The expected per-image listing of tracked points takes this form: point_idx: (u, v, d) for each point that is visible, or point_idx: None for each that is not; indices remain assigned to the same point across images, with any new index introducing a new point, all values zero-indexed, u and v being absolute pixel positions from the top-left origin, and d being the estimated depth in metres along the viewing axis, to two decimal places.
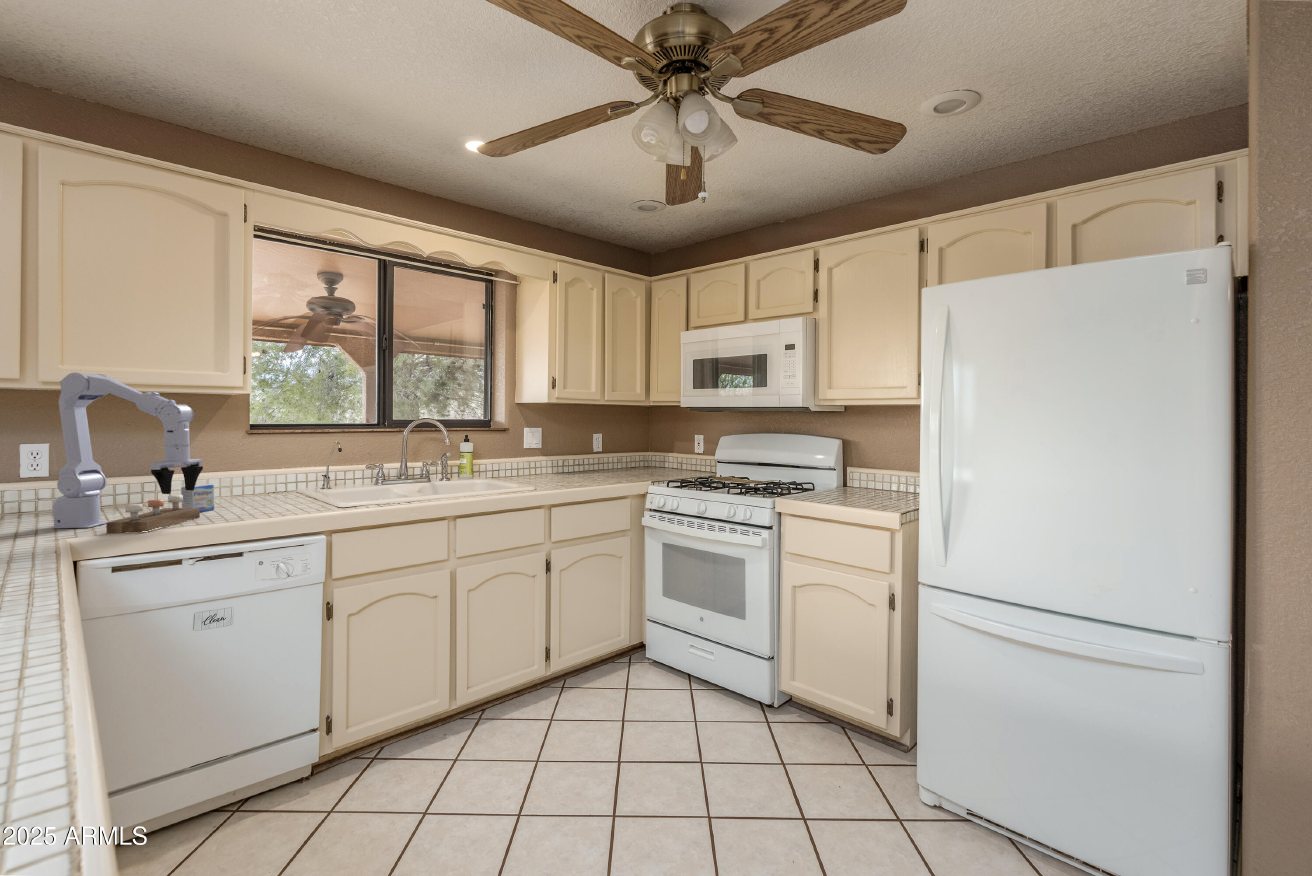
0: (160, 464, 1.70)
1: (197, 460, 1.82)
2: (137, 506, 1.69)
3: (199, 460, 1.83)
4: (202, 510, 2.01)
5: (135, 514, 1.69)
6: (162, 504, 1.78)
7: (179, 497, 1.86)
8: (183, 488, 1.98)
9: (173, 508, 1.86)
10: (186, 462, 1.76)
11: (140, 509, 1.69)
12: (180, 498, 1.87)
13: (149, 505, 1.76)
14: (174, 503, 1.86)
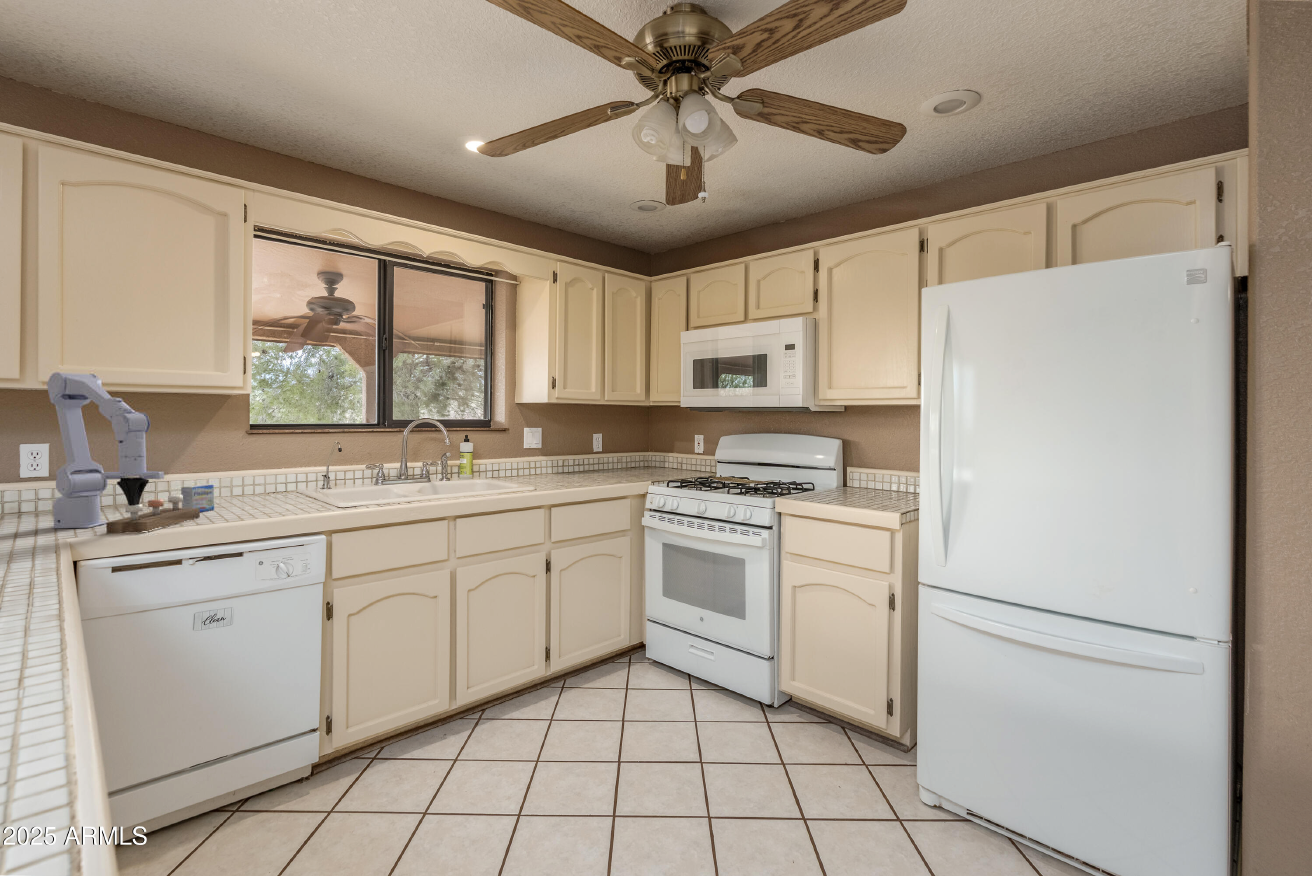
0: (104, 474, 1.67)
1: (150, 473, 1.68)
2: (137, 506, 1.69)
3: (155, 474, 1.69)
4: (202, 510, 2.01)
5: (135, 514, 1.69)
6: (162, 504, 1.78)
7: (179, 497, 1.86)
8: (183, 488, 1.98)
9: (173, 508, 1.86)
10: (119, 475, 1.65)
11: (140, 509, 1.69)
12: (180, 498, 1.87)
13: (149, 505, 1.76)
14: (174, 503, 1.86)
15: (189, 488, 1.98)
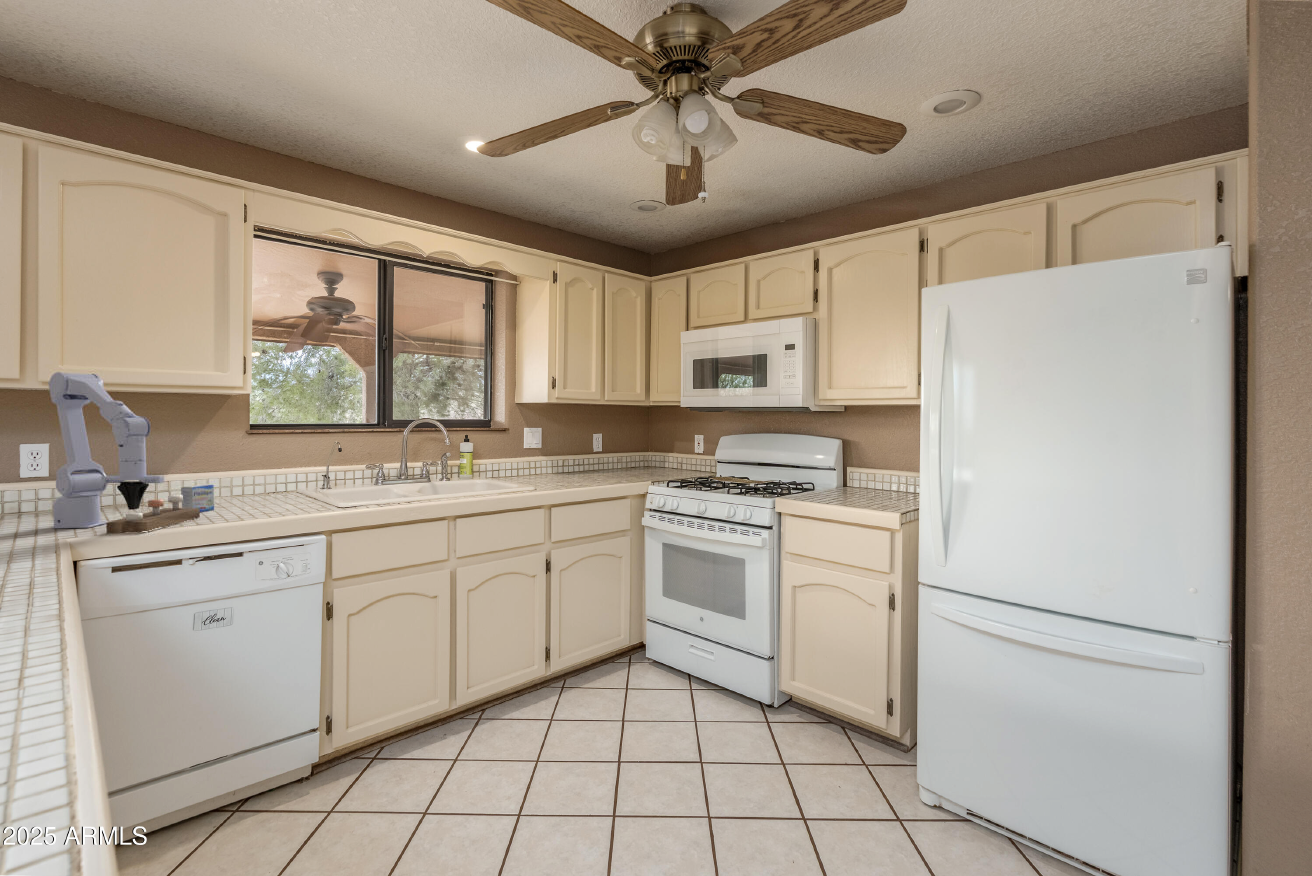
0: (104, 478, 1.67)
1: (150, 478, 1.68)
2: (137, 515, 1.69)
3: (155, 478, 1.69)
4: (202, 510, 2.01)
5: None
6: (162, 504, 1.78)
7: (179, 497, 1.86)
8: (183, 488, 1.98)
9: (173, 508, 1.86)
10: (119, 479, 1.65)
11: (140, 518, 1.69)
12: (180, 498, 1.87)
13: (149, 505, 1.76)
14: (174, 503, 1.86)
15: (189, 488, 1.98)
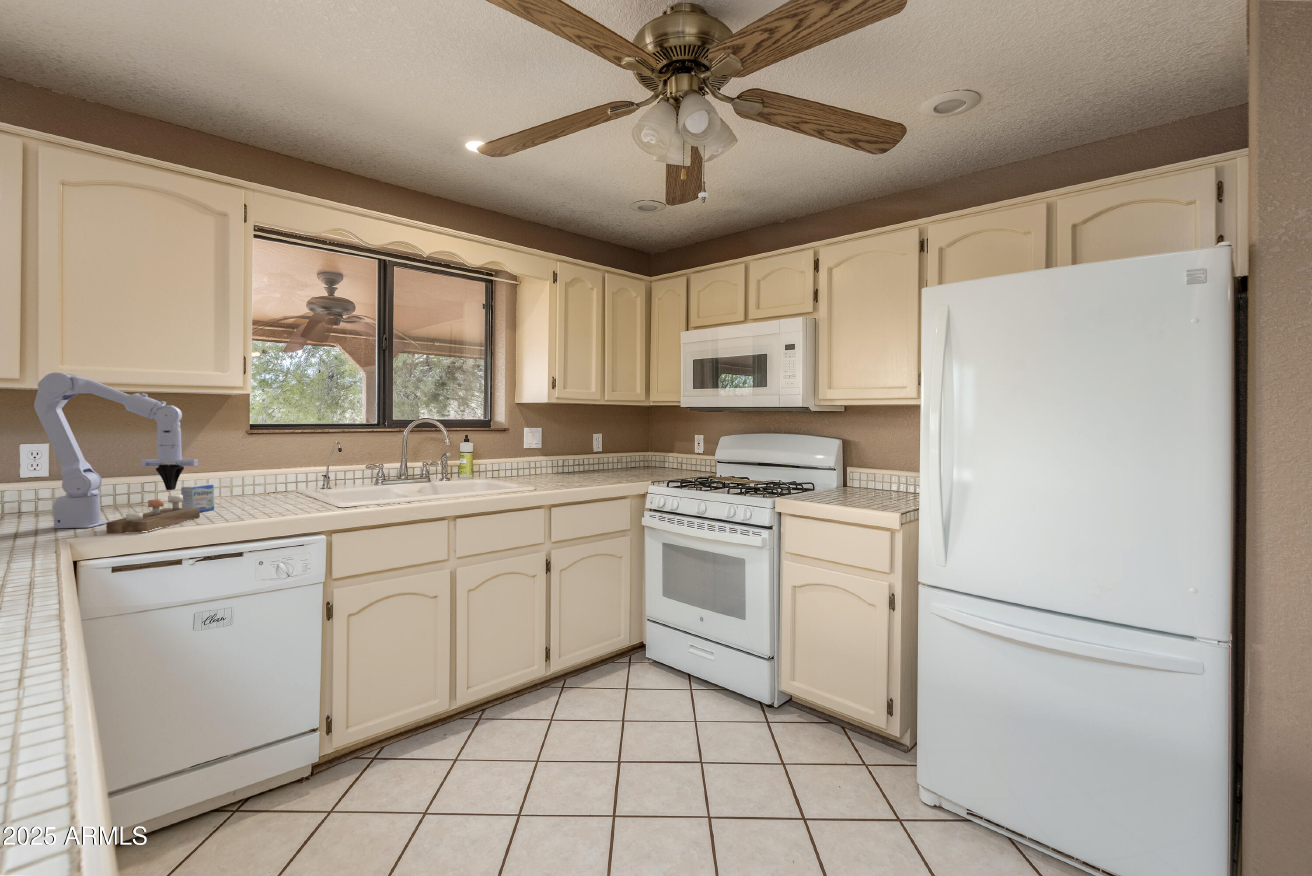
0: (144, 461, 1.83)
1: (186, 461, 1.84)
2: (137, 515, 1.69)
3: (190, 461, 1.84)
4: (202, 510, 2.01)
5: None
6: (162, 504, 1.78)
7: (179, 497, 1.86)
8: (183, 488, 1.98)
9: (173, 508, 1.86)
10: (158, 461, 1.81)
11: (140, 518, 1.69)
12: (180, 498, 1.87)
13: (149, 505, 1.76)
14: (174, 503, 1.86)
15: (189, 488, 1.98)
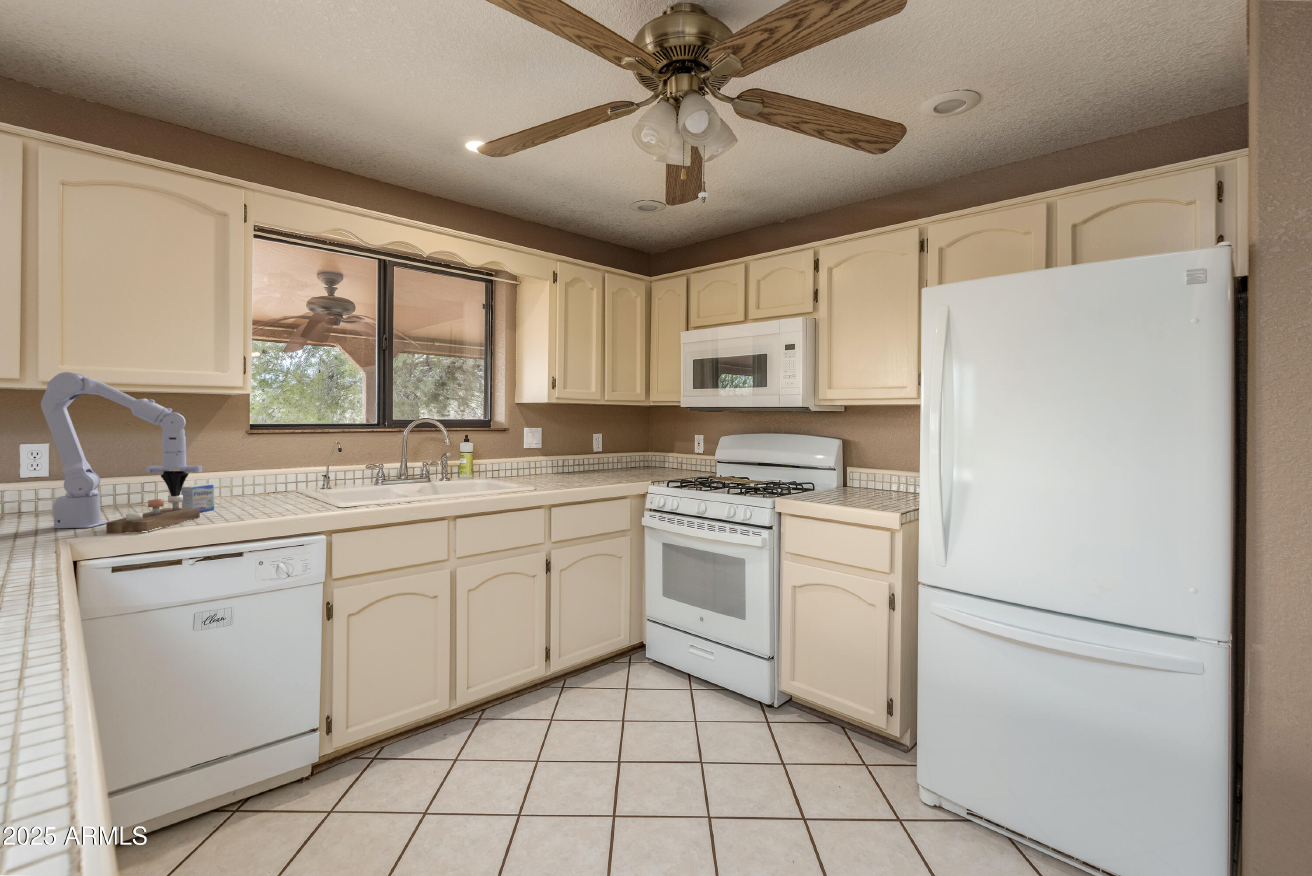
0: (149, 468, 1.85)
1: (190, 467, 1.86)
2: (137, 515, 1.69)
3: (194, 467, 1.86)
4: (202, 510, 2.01)
5: None
6: (162, 504, 1.78)
7: (179, 497, 1.86)
8: (183, 488, 1.98)
9: (173, 508, 1.86)
10: (163, 468, 1.83)
11: (140, 518, 1.69)
12: (180, 498, 1.87)
13: (149, 505, 1.76)
14: (174, 503, 1.86)
15: (189, 488, 1.98)
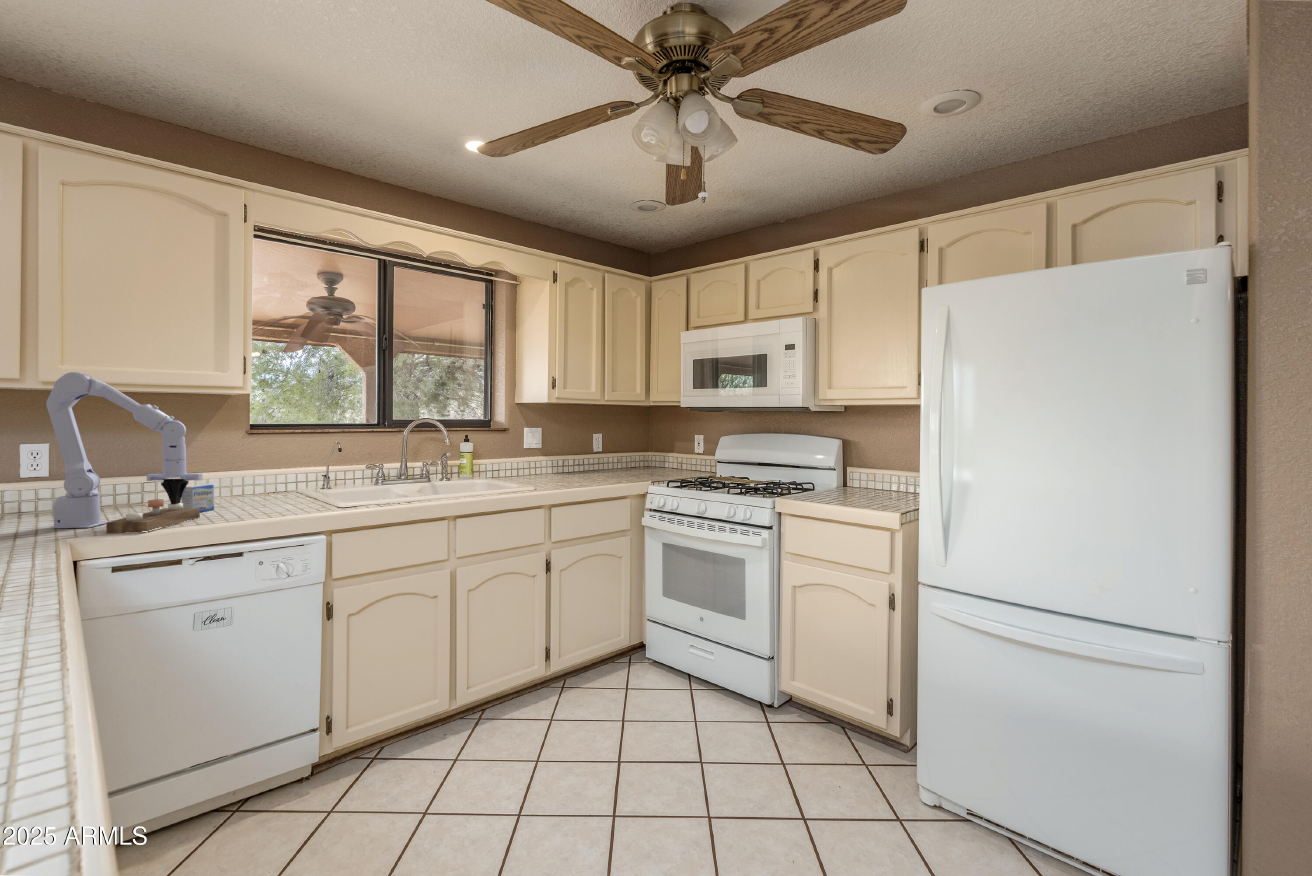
0: (149, 476, 1.85)
1: (191, 475, 1.86)
2: (137, 515, 1.69)
3: (194, 475, 1.87)
4: (202, 510, 2.01)
5: None
6: (162, 504, 1.78)
7: (179, 505, 1.87)
8: None
9: None
10: None
11: (140, 518, 1.69)
12: (180, 506, 1.87)
13: (149, 505, 1.76)
14: None
15: (189, 488, 1.98)
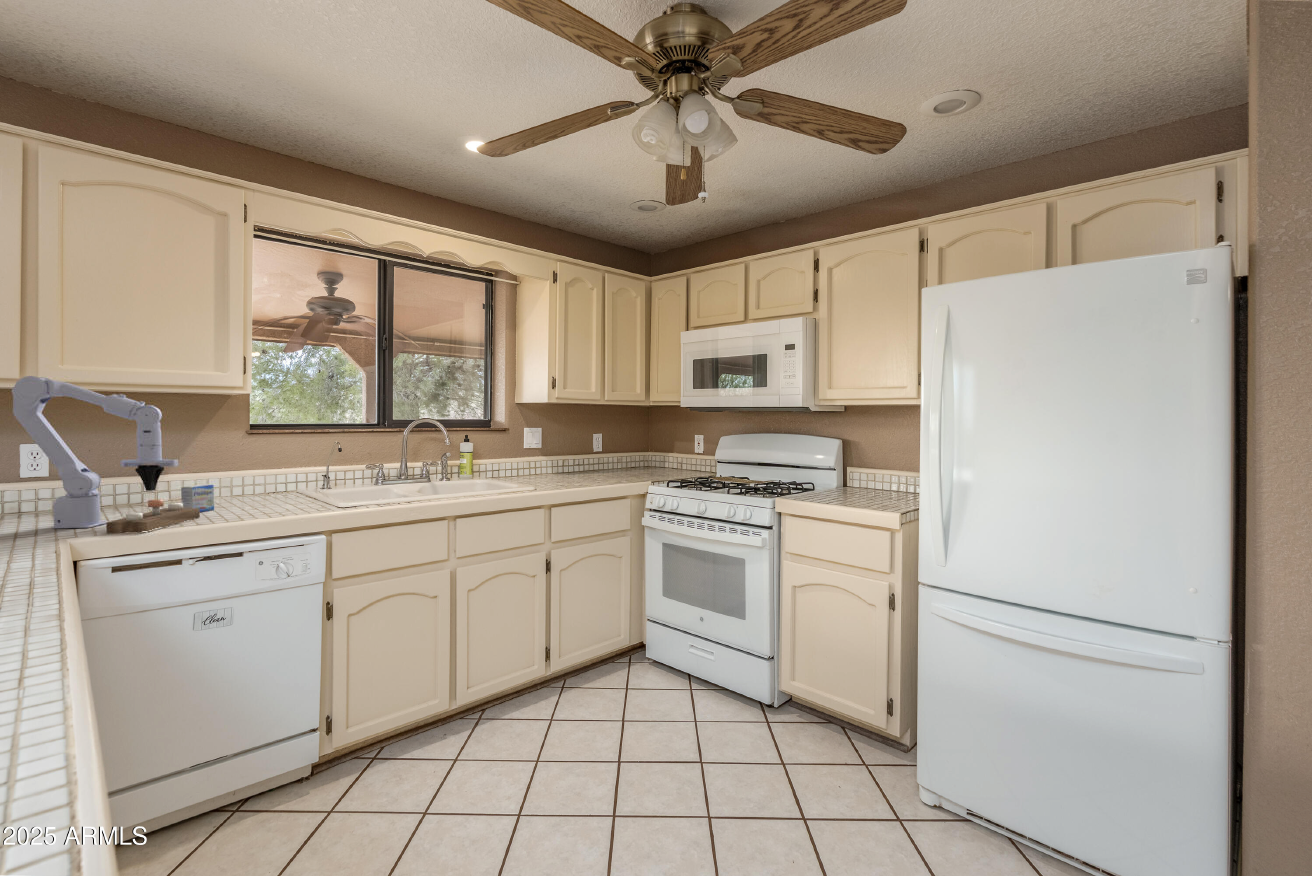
0: (123, 462, 1.81)
1: (166, 461, 1.82)
2: (137, 515, 1.69)
3: (170, 461, 1.83)
4: (202, 510, 2.01)
5: None
6: (162, 504, 1.78)
7: (179, 505, 1.87)
8: (183, 488, 1.98)
9: None
10: (137, 462, 1.79)
11: (140, 518, 1.69)
12: (180, 506, 1.87)
13: (149, 505, 1.76)
14: None
15: (189, 488, 1.98)
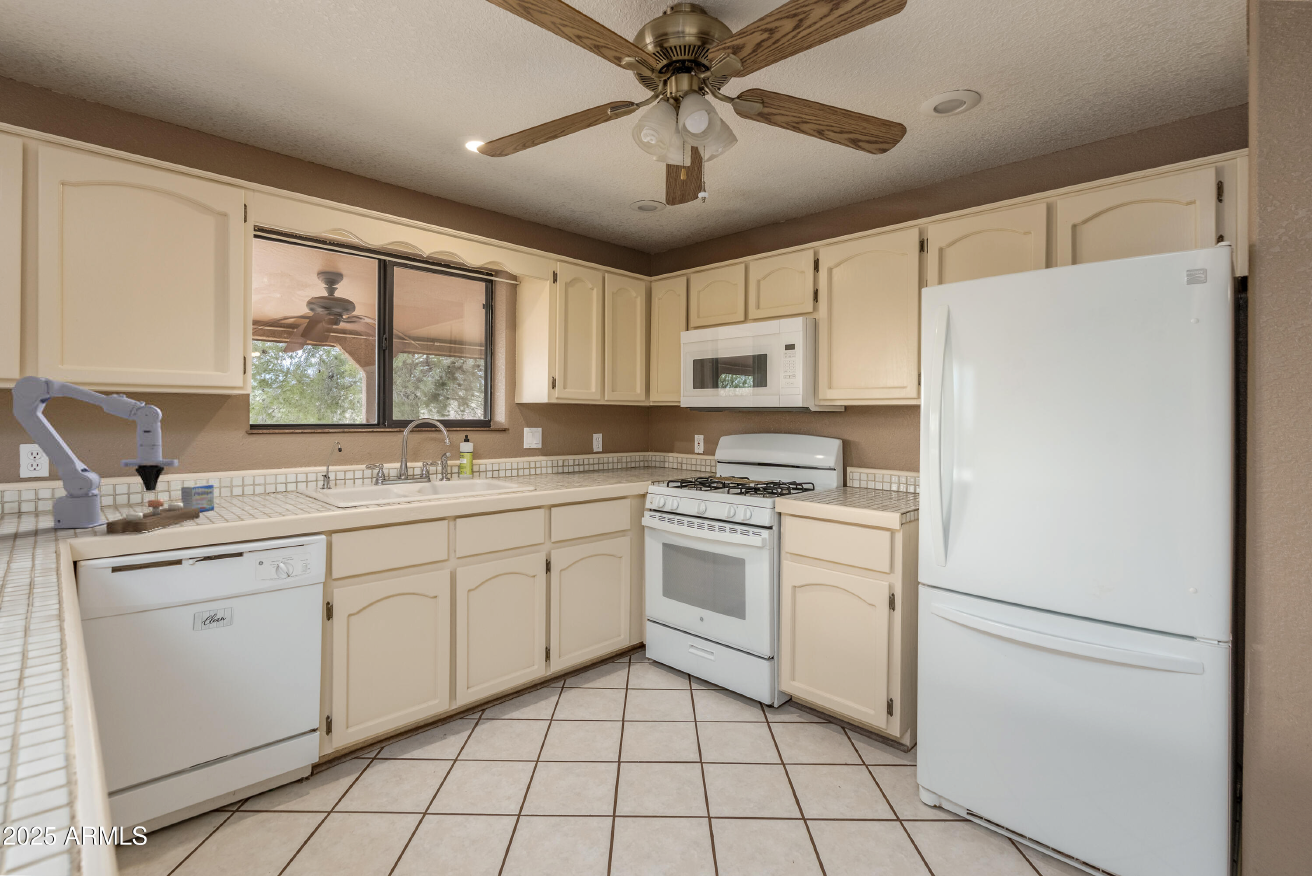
0: (123, 462, 1.81)
1: (166, 461, 1.82)
2: (137, 515, 1.69)
3: (170, 461, 1.83)
4: (202, 510, 2.01)
5: None
6: (162, 504, 1.78)
7: (179, 505, 1.87)
8: (183, 488, 1.98)
9: None
10: (137, 462, 1.79)
11: (140, 518, 1.69)
12: (180, 506, 1.87)
13: (149, 505, 1.76)
14: None
15: (189, 488, 1.98)
